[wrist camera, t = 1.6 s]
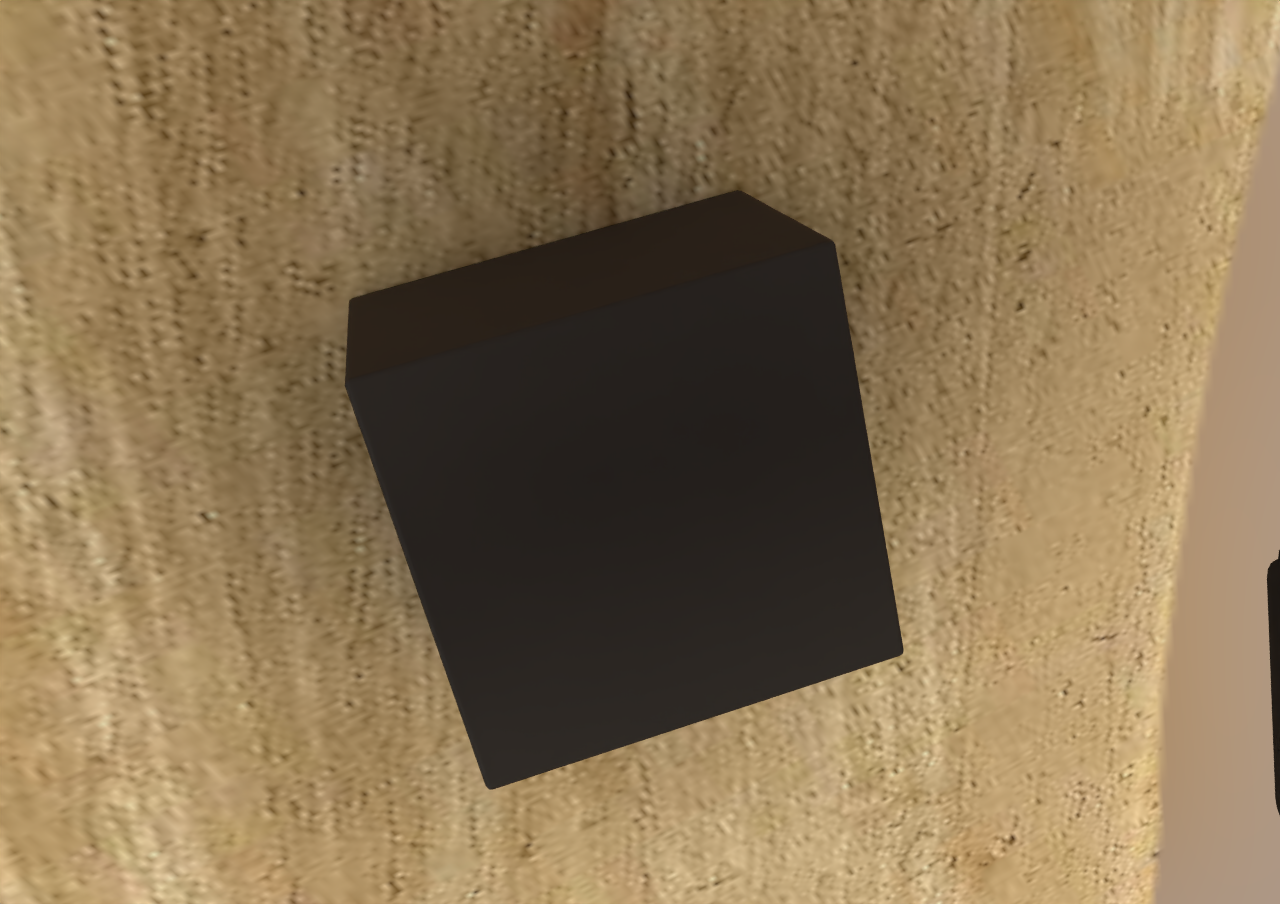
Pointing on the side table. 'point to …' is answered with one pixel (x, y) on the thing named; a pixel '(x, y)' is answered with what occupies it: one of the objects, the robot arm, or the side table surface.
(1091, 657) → the side table surface
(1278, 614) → the robot arm
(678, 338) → the loose pad
